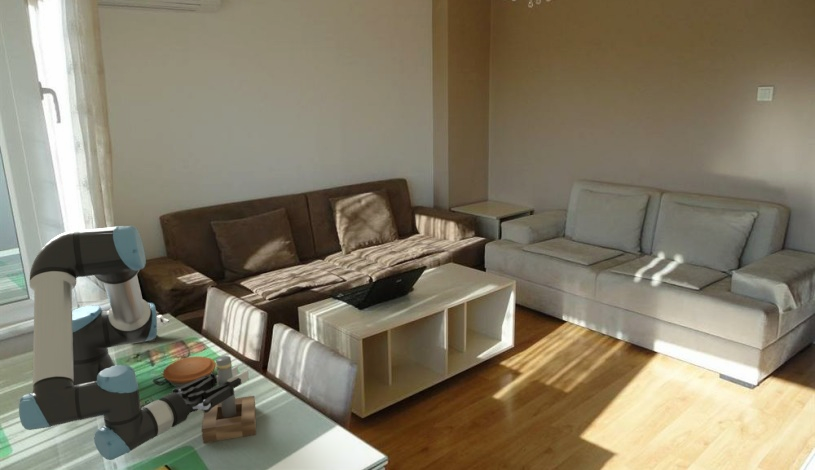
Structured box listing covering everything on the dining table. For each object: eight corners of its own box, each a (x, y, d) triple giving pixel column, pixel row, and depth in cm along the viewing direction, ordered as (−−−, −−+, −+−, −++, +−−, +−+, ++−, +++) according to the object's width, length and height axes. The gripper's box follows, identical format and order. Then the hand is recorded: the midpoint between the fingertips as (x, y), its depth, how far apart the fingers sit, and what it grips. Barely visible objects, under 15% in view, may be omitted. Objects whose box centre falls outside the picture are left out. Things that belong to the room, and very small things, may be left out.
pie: (220, 384, 176) (219, 369, 175) (166, 396, 170) (164, 381, 169) (213, 363, 190) (211, 349, 189) (162, 373, 183) (160, 359, 182)
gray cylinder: (222, 411, 155) (216, 356, 151) (237, 409, 156) (231, 355, 152) (221, 418, 151) (215, 363, 147) (236, 416, 152) (230, 361, 148)
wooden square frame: (207, 415, 159) (205, 402, 158) (255, 408, 162) (254, 395, 161) (203, 442, 147) (201, 429, 146) (255, 434, 150) (254, 421, 149)
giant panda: (126, 343, 205) (122, 319, 203) (131, 337, 210) (128, 312, 208) (169, 341, 207) (165, 316, 204) (173, 334, 212) (170, 310, 210)
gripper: (146, 417, 142) (223, 377, 161) (188, 438, 133) (264, 393, 152) (142, 390, 140) (220, 352, 159) (184, 409, 131) (262, 367, 150)
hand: (242, 372), depth 156 cm, fingers closed on gray cylinder, 3 cm apart
